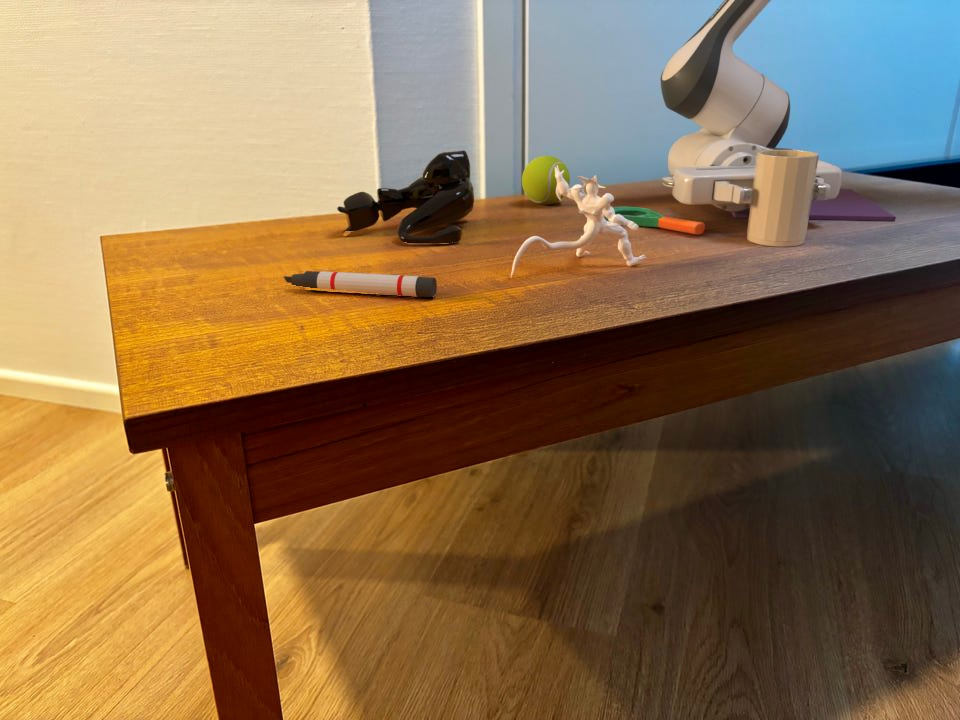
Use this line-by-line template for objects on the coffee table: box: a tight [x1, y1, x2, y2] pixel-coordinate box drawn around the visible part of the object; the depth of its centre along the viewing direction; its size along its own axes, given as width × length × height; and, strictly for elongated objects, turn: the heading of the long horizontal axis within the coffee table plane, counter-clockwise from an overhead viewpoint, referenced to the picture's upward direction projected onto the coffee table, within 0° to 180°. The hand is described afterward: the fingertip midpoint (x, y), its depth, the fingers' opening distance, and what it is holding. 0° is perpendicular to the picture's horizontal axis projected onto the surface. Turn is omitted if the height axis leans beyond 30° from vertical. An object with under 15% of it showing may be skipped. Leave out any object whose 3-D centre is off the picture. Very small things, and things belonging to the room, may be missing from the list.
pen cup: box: [746, 149, 820, 248], centre depth 85 cm, size 6×6×10 cm
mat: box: [729, 188, 897, 222], centre depth 106 cm, size 20×20×1 cm
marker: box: [283, 270, 438, 298], centre depth 70 cm, size 15×2×2 cm, turn 77°
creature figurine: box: [510, 165, 647, 279], centre depth 75 cm, size 12×11×12 cm
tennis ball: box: [521, 155, 571, 206], centre depth 108 cm, size 7×7×7 cm
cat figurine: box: [336, 150, 475, 244], centre depth 91 cm, size 10×14×18 cm
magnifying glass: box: [604, 206, 706, 236], centre depth 94 cm, size 15×6×2 cm, turn 35°
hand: (785, 194), depth 84 cm, fingers open, 8 cm apart
